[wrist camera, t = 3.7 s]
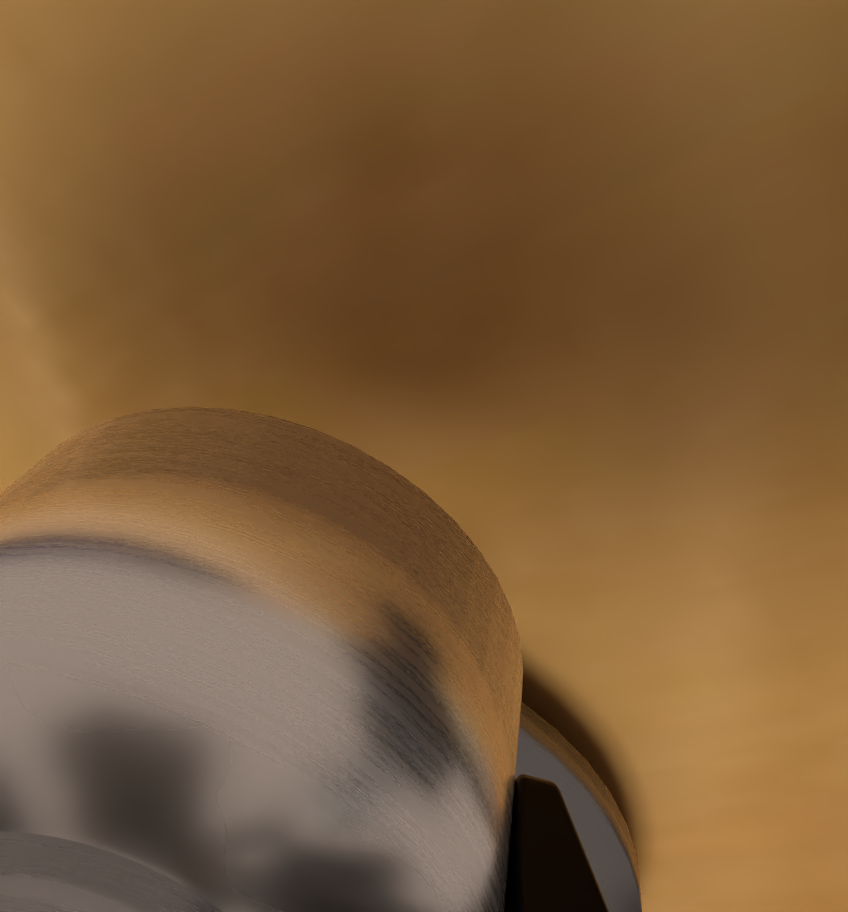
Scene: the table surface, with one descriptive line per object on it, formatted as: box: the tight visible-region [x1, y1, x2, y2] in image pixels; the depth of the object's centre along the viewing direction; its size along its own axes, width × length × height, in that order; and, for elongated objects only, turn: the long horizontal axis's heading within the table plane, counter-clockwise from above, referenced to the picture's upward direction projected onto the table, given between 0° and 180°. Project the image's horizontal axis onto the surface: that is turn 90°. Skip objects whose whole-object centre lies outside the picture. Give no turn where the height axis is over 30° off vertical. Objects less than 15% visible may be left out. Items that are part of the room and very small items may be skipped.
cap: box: [0, 407, 523, 912], centre depth 7 cm, size 6×6×5 cm
